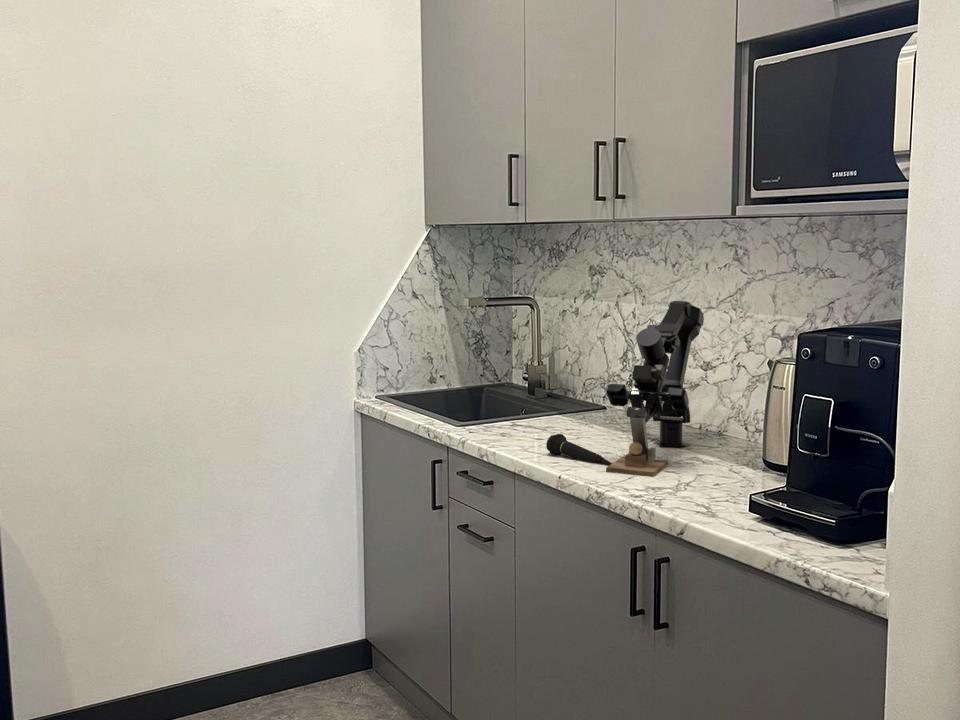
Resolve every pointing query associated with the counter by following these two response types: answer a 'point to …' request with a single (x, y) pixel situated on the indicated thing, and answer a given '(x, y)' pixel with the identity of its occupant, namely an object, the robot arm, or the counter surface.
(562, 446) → the microphone
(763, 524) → the counter surface
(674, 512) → the counter surface
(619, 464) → the nutcracker base
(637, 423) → the lever
